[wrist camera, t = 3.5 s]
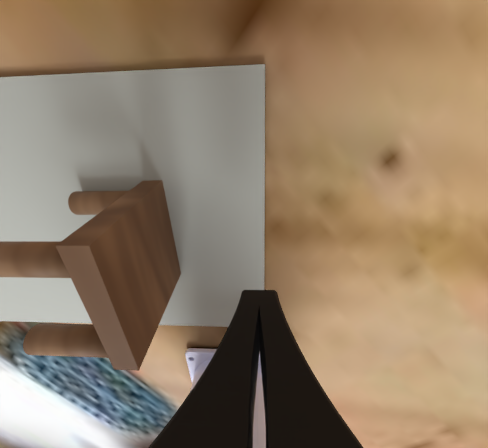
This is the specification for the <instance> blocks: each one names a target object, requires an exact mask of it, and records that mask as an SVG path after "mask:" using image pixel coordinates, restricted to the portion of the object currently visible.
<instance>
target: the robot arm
mask: <svg viewBox="0 0 488 448" xmlns="http://www.w3.org/2000/svg"><path fill="white" fill-rule="evenodd" d="M185 356H186V360H187V364H188V368H189V373H190V377H191V381H192V387H191V391H190V393H189V395H188V396H187V398H186V399H185V401H184V402H183V404H182V405H181V406H180V408H179V409H178V411H177V412H176V413H175V415H174V416H173V417H172V419H171V420H170V421H169V422H168V424H167V425H166V426H165V428H164V429H163V430H162V431H161V433H160V434H159V435H158V436H157V438H156V439H155V440H154V441H153V443H152V444H151V445H150V447H149V448H363V447H362V445H361V444H360V442H359V441H358V440H357V438H356V437H355V435H354V434H353V433H352V431H351V430H350V428H349V427H348V426H347V424H346V423H345V421H344V420H343V419H342V417H341V416H340V414H339V413H338V411H337V410H336V409H335V407H334V405H333V404H332V402H331V401H330V399H329V398H328V396H327V395H326V393H325V392H324V390H323V388H322V387H321V385H320V384H319V382H318V380H317V379H316V377H315V375H314V374H313V372H312V370H311V368H310V367H309V365H308V363H307V361H306V360H305V358H304V356H303V354H302V352H301V350H300V348H299V346H298V344H297V342H296V340H295V338H294V336H293V334H292V332H291V330H290V328H289V325H288V323H287V321H286V318H285V316H284V313H283V311H282V308H281V305H280V302H279V298H278V294H277V292H276V291H275V290H243V291H242V293H241V297H240V300H239V303H238V306H237V309H236V311H235V313H234V316H233V318H232V320H231V323H230V325H229V327H228V329H227V331H226V333H225V335H224V337H223V339H222V341H221V343H220V345H219V346H218V348H217V349H202V348H189V349H187V350H186V353H185Z"/></svg>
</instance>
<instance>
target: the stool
mask: <svg viewBox="0 0 488 448" xmlns="http://www.w3.org/2000/svg"><path fill="white" fill-rule="evenodd" d="M68 205H69V208H70V210H71V212H72V213H74V214H76V215H96V216H95V217H93V218H92V219H91V220H89V221H88V222H87V223H85V224H84V225H83V226H81V227H80V228H78V229H77V230H76V231H74V232H73V233H72V234H70V235H69V236H68V237H66V238H65V239H64V240H62V241H0V277H23V278H71V280H72V282H73V284H74V286H75V288H76V290H77V292H78V294H79V296H80V298H81V301H82V303H83V305H84V307H85V309H86V311H87V313H88V315H89V317H90V319H91V322H92V324H93V325H89V324H50V323H40V324H37V325H35V326H34V327H32V328H31V329H30V330H29V332H28V333H27V335H26V336H25V339H24V343H23V348H24V351H25V353H27V354H28V355H49V356H77V357H106V358H109V359H110V361H111V364H112V366H113V368H114V369H117V370H139V369H140V366H141V364H142V362H143V360H144V357H145V355H146V353H147V350H148V348H149V346H150V344H151V341H152V339H153V337H154V334H155V332H156V330H157V328H158V325H159V323H160V321H161V318H162V316H163V314H164V312H165V309H166V307H167V305H168V303H169V300H170V298H171V296H172V293H173V291H174V289H175V287H176V284H177V282H178V280H179V277H180V275H181V271H180V266H179V261H178V256H177V251H176V246H175V241H174V236H173V231H172V226H171V221H170V216H169V211H168V206H167V201H166V196H165V191H164V186H163V181H162V180H151V181H141V182H140V183H139V184H137V185H136V186H135V187H133V188H132V189H131V190H129V191H75V192H72V193H71V194H70V196H69V199H68Z"/></svg>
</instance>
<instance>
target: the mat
mask: <svg viewBox="0 0 488 448" xmlns="http://www.w3.org/2000/svg"><path fill="white" fill-rule="evenodd" d="M151 180H162V181H163V186H164V191H165V196H166V201H167V206H168V211H169V216H170V221H171V226H172V231H173V236H174V241H175V246H176V251H177V256H178V261H179V266H180V271H181V275H180V277H179V280H178V282H177V284H176V287H175V289H174V291H173V293H172V296H171V298H170V300H169V303H168V305H167V307H166V309H165V312H164V314H163V316H162V318H161V321H160V323H159V325H179V326H218V327H229V325H230V323H231V320H232V318H233V316H234V313H235V311H236V309H237V306H238V303H239V300H240V297H241V293H242V291H243V290H264V229H265V64H257V65H237V66H217V67H196V68H176V69H156V70H136V71H116V72H95V73H75V74H55V75H35V76H15V77H0V241H62V240H64V239H65V238H66V237H68V236H69V235H70V234H72V233H73V232H74V231H76V230H77V229H78V228H80V227H81V226H83V225H84V224H85V223H87V222H88V221H89V220H91V219H92V218H93V217H95V216H96V215H76V214H74V213H72V212H71V210H70V208H69V205H68V199H69V196H70V194H71V193H72V192H75V191H129V190H131V189H132V188H133V187H135V186H136V185H137V184H139V183H140V182H141V181H151ZM0 321H21V322H60V323H92V322H91V319H90V317H89V315H88V313H87V311H86V309H85V307H84V305H83V303H82V301H81V298H80V296H79V294H78V292H77V290H76V288H75V286H74V284H73V282H72V280H71V278H23V277H0Z"/></svg>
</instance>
